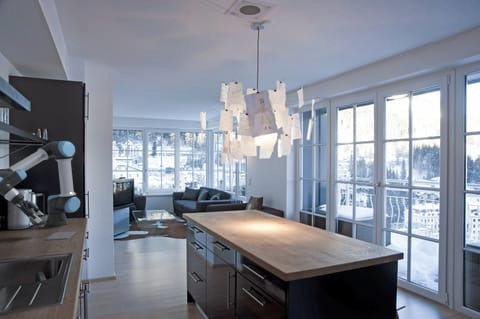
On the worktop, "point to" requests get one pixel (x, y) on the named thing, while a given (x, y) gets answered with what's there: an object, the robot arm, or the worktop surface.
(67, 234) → the rubber mat
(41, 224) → the mortar and pestle
